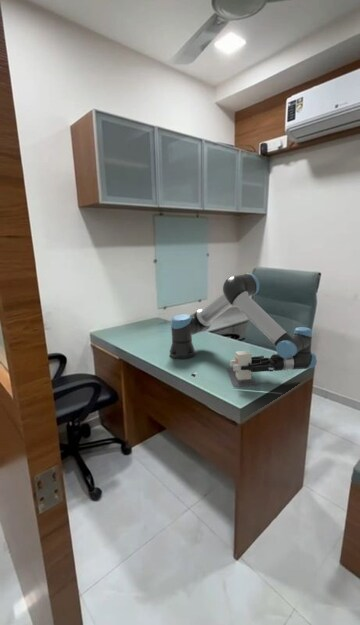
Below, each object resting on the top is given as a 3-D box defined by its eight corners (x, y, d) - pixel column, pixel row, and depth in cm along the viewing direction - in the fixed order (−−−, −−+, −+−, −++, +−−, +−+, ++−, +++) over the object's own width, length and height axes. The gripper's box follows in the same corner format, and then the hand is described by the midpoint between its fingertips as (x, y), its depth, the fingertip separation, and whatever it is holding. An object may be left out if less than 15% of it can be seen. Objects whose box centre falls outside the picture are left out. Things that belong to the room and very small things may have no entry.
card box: (248, 374, 144) (248, 350, 141) (251, 378, 139) (251, 354, 137) (235, 375, 143) (235, 351, 141) (237, 379, 139) (237, 355, 136)
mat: (226, 368, 159) (226, 367, 158) (247, 367, 158) (247, 366, 158) (233, 388, 137) (233, 386, 137) (257, 387, 137) (257, 386, 137)
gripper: (289, 377, 134) (237, 381, 132) (273, 362, 151) (227, 366, 149) (290, 361, 132) (237, 365, 130) (274, 348, 149) (227, 351, 147)
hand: (232, 365), depth 140 cm, fingers closed on card box, 4 cm apart
